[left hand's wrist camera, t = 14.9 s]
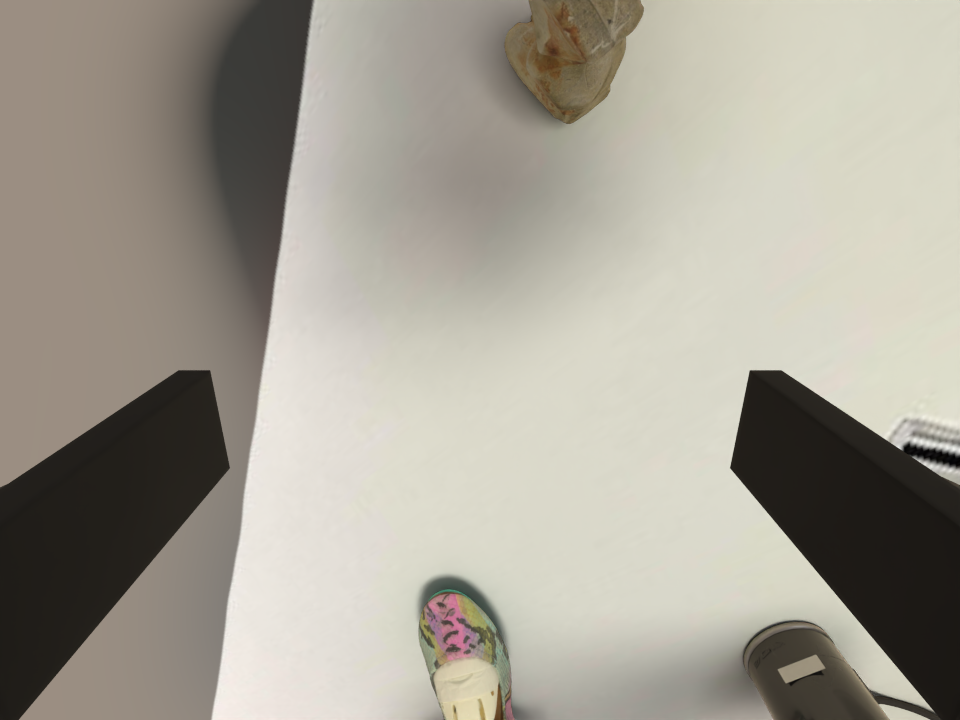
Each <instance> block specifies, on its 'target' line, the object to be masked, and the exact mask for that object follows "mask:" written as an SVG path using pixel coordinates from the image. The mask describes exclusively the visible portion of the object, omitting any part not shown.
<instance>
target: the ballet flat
mask: <svg viewBox="0 0 960 720" xmlns="http://www.w3.org/2000/svg"><path fill="white" fill-rule="evenodd" d="M419 642H420V646H421V649H422V652H423V655H424V658H425V661H426V665H427V668H428V671H429V674H430V680H431V683H432V686H433V689H434V691H435V693H436V696H437V699H438V701H439V705H440V707H441V710H442V714H443V717H444V720H514V717H513V714H512V709H511V670H510V662H509V657H508V653H507V650H506V647H505V645H504V643H503V640H502V638H501V636H500V634H499V632H498V631H497V629H496V627H495V625H494V624H493V622H492V621H491V620H490V618H489V617H488V616H487V615H486V613H485V612H484V611H483V610H482V609H481V608H480V607H479V606H478V605H477V604H475V603H474V602H473V601H472V600H471V599H470V598H469V597H468V596H466V595H465V594H463V593H461V592H459V591H456V590H450V589H448V590H442V591H439V592H437V593H435V594H434V595H433V596H432V597H431V598H430V599H429V600H428V602H427V604H426V605H425V607H424V609H423V611H422V613H421V617H420V622H419Z"/></svg>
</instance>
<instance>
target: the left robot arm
mask: <svg viewBox="0 0 960 720" xmlns="http://www.w3.org/2000/svg"><path fill="white" fill-rule="evenodd" d="M229 468H230V467H229V462H228V457H227V452H226V447H225V442H224V437H223V432H222V427H221V422H220V417H219V412H218V407H217V402H216V397H215V392H214V387H213V382H212V377H211V372H210V370H179V371H177V372H176V373H174V374H173V375H171V376H170V377H168V378H167V379H165V380H164V381H162V382H161V383H159V384H158V385H156V386H155V387H153V388H152V389H150V390H148V391H147V392H146V393H144V394H142V395H141V396H139V397H138V398H137V399H135V400H133V401H132V402H130V403H129V404H127V405H126V406H124V407H123V408H121V409H120V410H118V411H117V412H115V413H114V414H113V415H111V416H109V417H108V418H106V419H105V420H104V421H102V422H100V423H99V424H97V425H96V426H94V427H93V428H91V429H90V430H88V431H87V432H85V433H84V434H82V435H81V436H79V437H78V438H76V439H75V440H73V441H72V442H70V443H69V444H67V445H66V446H64V447H63V448H61V449H60V450H58V451H57V452H55V453H54V454H52V455H51V456H49V457H48V458H46V459H45V460H43V461H42V462H40V463H39V464H37V465H36V466H34V467H33V468H31V469H30V470H28V471H27V472H25V473H24V474H22V475H21V476H19V477H18V478H16V479H15V480H13V481H12V482H10V483H9V484H7V485H5V486H2V487H0V720H19V719H20V717H21V716H22V715H23V714H24V713H25V712H26V710H27V709H28V708H29V707H30V706H31V704H32V703H33V702H34V701H35V700H36V698H37V697H38V696H39V695H40V694H41V692H42V691H43V690H44V689H45V688H46V687H47V685H48V684H49V683H50V682H51V681H52V679H53V678H54V677H55V676H56V674H57V673H58V672H59V671H60V670H61V669H62V667H63V666H64V665H65V664H66V663H67V662H68V660H69V659H70V658H71V657H72V656H73V654H74V653H75V652H76V651H77V650H78V648H79V647H80V646H81V645H82V644H83V642H84V641H85V640H86V639H87V638H88V636H89V635H90V634H91V633H92V632H93V631H94V629H95V628H96V627H97V626H98V625H99V623H100V622H101V621H102V620H103V619H104V617H105V616H106V615H107V614H108V613H109V611H110V610H111V609H112V608H113V607H114V605H115V604H116V603H117V602H118V601H119V600H120V598H121V597H122V596H123V595H124V594H125V592H126V591H127V590H128V589H129V588H130V586H131V585H132V584H133V583H134V582H135V580H136V579H137V578H138V577H139V576H140V574H141V573H142V572H143V571H144V570H145V568H146V567H147V566H148V565H149V564H150V563H151V561H152V560H153V559H154V558H155V557H156V555H157V554H158V553H159V552H160V551H161V549H162V548H163V547H164V546H165V545H166V543H167V542H168V541H169V540H170V539H171V538H172V536H173V535H174V534H175V533H176V532H177V530H178V529H179V528H180V527H181V526H182V524H183V523H184V522H185V521H186V520H187V519H188V517H189V516H190V515H191V514H192V513H193V511H194V510H195V509H196V508H197V506H198V505H199V504H200V503H201V502H202V501H203V499H204V498H205V497H206V496H207V495H208V493H209V492H210V491H211V490H212V489H213V488H214V486H215V485H216V484H217V483H218V481H219V480H220V479H221V478H222V477H223V476H224V474H225V473H226V472H227V471H228V470H229ZM730 468H731V470H732V471H733V472H734V473H735V474H736V476H737V477H738V478H739V479H740V480H741V482H742V483H743V484H744V485H745V486H746V488H747V489H748V490H749V491H750V492H751V493H752V495H753V496H754V497H755V498H756V499H757V501H758V502H759V503H760V504H761V505H762V507H763V508H764V509H765V510H766V511H767V513H768V514H769V515H770V516H771V517H772V519H773V520H774V521H775V522H776V523H777V524H778V526H779V527H780V528H781V529H782V530H783V532H784V533H785V534H786V535H787V536H788V538H789V539H790V540H791V541H792V542H793V544H794V545H795V546H796V547H797V548H798V550H799V551H800V552H801V553H802V554H803V555H804V557H805V558H806V559H807V560H808V561H809V563H810V564H811V565H812V566H813V567H814V569H815V570H816V571H817V572H818V573H819V575H820V576H821V577H822V578H823V579H824V580H825V582H826V583H827V584H828V585H829V586H830V588H831V589H832V590H833V591H834V592H835V594H836V595H837V596H838V597H839V598H840V600H841V601H842V602H843V603H844V604H845V606H846V607H847V608H848V609H849V610H850V611H851V613H852V614H853V615H854V616H855V617H856V619H857V620H858V621H859V622H860V623H861V625H862V626H863V627H864V628H865V629H866V631H867V632H868V633H869V634H870V635H871V636H872V638H873V639H874V640H875V641H876V642H877V644H878V645H879V646H880V647H881V648H882V650H883V651H884V652H885V653H886V654H887V656H888V657H889V658H890V659H891V660H892V662H893V663H894V664H895V665H896V666H897V667H898V669H899V670H900V671H901V672H902V673H903V675H904V676H905V677H906V678H907V679H908V681H909V682H910V683H911V684H912V685H913V687H914V688H915V689H916V690H917V691H918V693H919V694H920V695H921V696H922V697H923V698H924V700H925V701H926V702H927V703H928V704H929V706H930V707H931V708H932V709H933V710H934V712H935V713H936V714H937V715H938V716H939V718H940V719H941V720H960V485H958V484H956V483H954V482H952V481H949V480H947V479H945V478H943V477H941V476H939V475H938V474H936V473H935V472H933V471H932V470H930V469H929V468H927V467H926V466H924V465H923V464H921V463H920V462H918V461H917V460H915V459H914V458H912V457H911V456H909V455H908V454H906V453H905V452H903V451H902V450H900V449H899V448H897V447H896V446H894V445H893V444H891V443H890V442H888V441H887V440H885V439H884V438H882V437H881V436H879V435H878V434H876V433H875V432H873V431H872V430H870V429H869V428H867V427H866V426H864V425H863V424H861V423H860V422H858V421H857V420H855V419H854V418H852V417H851V416H849V415H848V414H846V413H845V412H843V411H842V410H840V409H839V408H837V407H836V406H834V405H833V404H831V403H830V402H828V401H827V400H825V399H824V398H822V397H821V396H819V395H818V394H816V393H815V392H813V391H812V390H810V389H809V388H807V387H806V386H804V385H802V384H801V383H799V382H798V381H796V380H795V379H793V378H792V377H790V376H789V375H787V374H786V373H784V372H783V371H781V370H750V372H749V377H748V382H747V387H746V392H745V397H744V402H743V407H742V412H741V417H740V422H739V427H738V432H737V437H736V442H735V447H734V452H733V457H732V462H731V467H730Z"/></svg>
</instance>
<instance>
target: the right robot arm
mask: <svg viewBox="0 0 960 720" xmlns="http://www.w3.org/2000/svg"><path fill="white" fill-rule="evenodd" d="M744 666H745V669H746V671H747V673H748V674H749V676H750V678H751V679H752V680H753V682H754V684H755V686H756V687H757V689H758V691H759V693H760V695H761V697H762V699H763V700H764V703H765V705H766V706H767V708H768V710H769V712H770V714H771V716H772V718H773V720H889V718H888V717H887V716H886V714H885V713H884V711H883V710H882V709H881V707H880V706H879V705H878V704H885V705H890V706H895V707H898V708H902V709H905V710H908V711H911V712H914V713H916V714H919V715H921V716H924V717H926V718H928V719H930V720H941V719H940V718H939V716H937V715H935V714H933V713H931V712H929V711H927V710H924V709H922V708H920V707H917V706H914V705H912V704H909V703H906V702H902V701H899V700H895V699H891V698H886V697H881V696H873V694H872V693H871V692H870V690H869V689H868V688H867V686H866V685H865V684H864V682H863V681H862V680H861V678H860V677H859V676H858V674H857V673H856V672H855V670H854V669H852V668H851V667H850V665H849V664H848V663H847V661H846V660H845V659H844V657H843V656H842V655H841V653H840V652H839V651H838V649H837V648H836V647H835V645H834V643H833V641H832V640H831V638H830V637H829V636H828V634H827V633H826V632H825V631H824V630H823V629H821V628H820V627H818V626H816V625H813V624H809V623H804V622H790V623H784V624H780V625H776V626H774V627H771V628H769V629H767V630H765V631H763V632H762V633H760V634H759V635H758V636H757V637H755V638H754V639H753V640H752V642H751V643H750V644H749V645H748V647H747V649H746V651H745V654H744Z"/></svg>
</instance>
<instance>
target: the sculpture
mask: <svg viewBox="0 0 960 720" xmlns="http://www.w3.org/2000/svg"><path fill="white" fill-rule="evenodd" d="M529 4H530V8H531V12H532V16H531V22H529V23H517V24H516V25H515V26H514V27H513V28H512V29H511V30H509V32H508V33H507V36H506V39H505V52H506V55H507V58H508V60H509V62H510V64H511V66H512V67H513V69H514V70H515V72H516V73H517V75H518V76H519V78H520V79H521V80H522V82H523V83H524V84H525V85H526V86H527V88H528V89H529V90H530V91H531V92H532V93H533V94H534V95H535V97H536V98H537V99H538V100H539V101H540V102H541V103H542V104H543V105H544V107H545V108H546V109H547V110H548V111H549V112H550V113H551V114H552V115H553V116H554V117H555V118H557V119H560V120H561V121H563V122H564V123H567V124H571V123H573V122H575V121H576V120H578V119H579V118H581V117H582V116H584V115H585V114H586V113H588V112H589V111H590V110H592V109H593V108H594V107H595V106H596V105H598V104H599V103H600V102H601V101H603V100H604V99H605V98H606V97H607V95H608V93H609V92H610V84H611V82H612V80H613V78H614V76H615V74H616V72H617V70H618V67H619V65H620V63H621V61H622V59H623V56H624V53H625V48H626V36H628V35H629V34H630V33H631V32H632V31H633V30H634V29H635V28H636V26H637V25H638V23H639V21H640V19H641V17H642V15H643V11H644V7H643V6H642V4H641V1H640V0H529Z"/></svg>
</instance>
